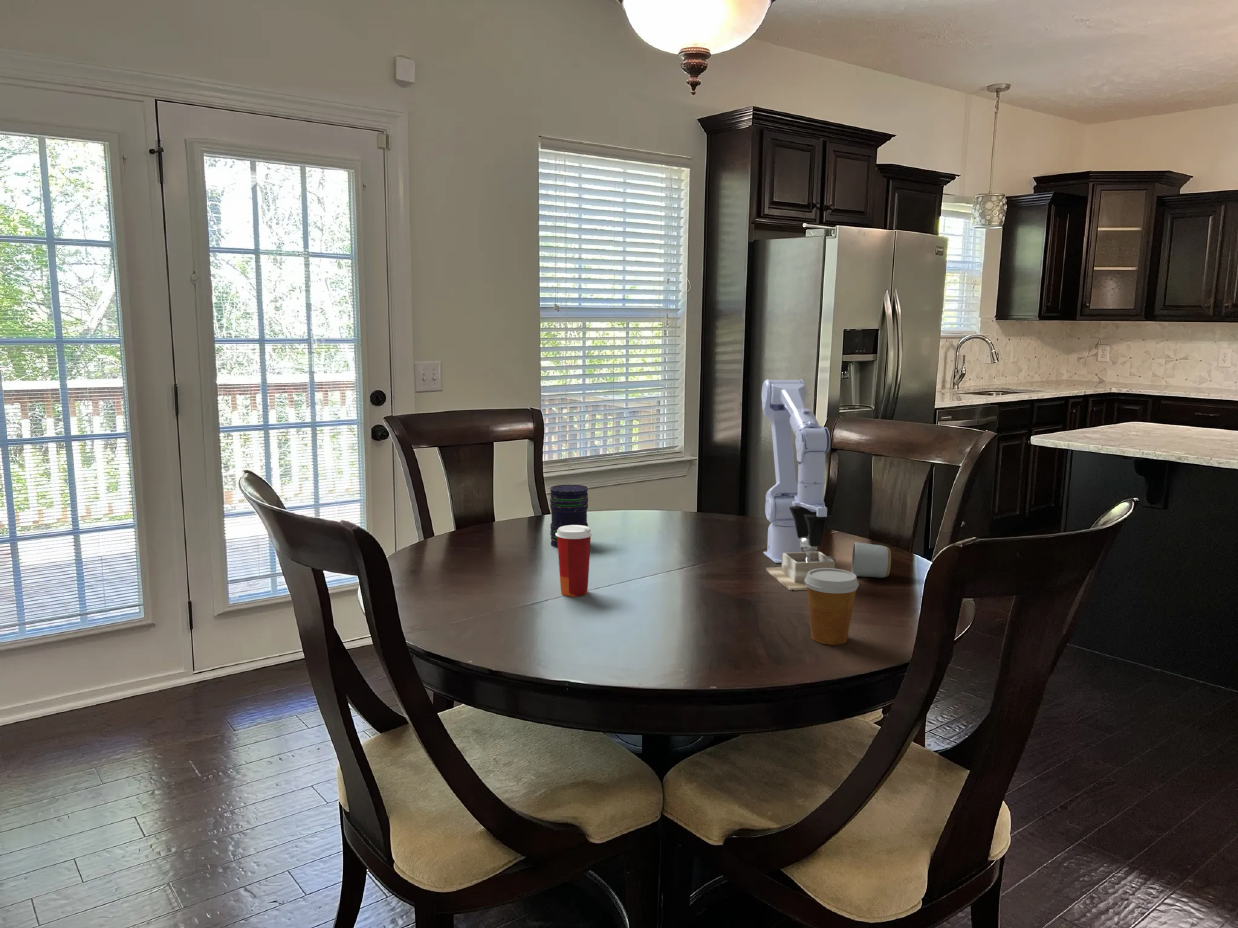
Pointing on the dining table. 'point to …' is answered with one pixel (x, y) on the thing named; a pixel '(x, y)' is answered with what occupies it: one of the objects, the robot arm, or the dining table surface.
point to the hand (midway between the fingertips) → (808, 541)
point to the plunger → (807, 549)
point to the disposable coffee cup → (830, 604)
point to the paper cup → (574, 559)
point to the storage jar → (567, 508)
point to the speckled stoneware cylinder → (871, 560)
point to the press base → (799, 568)
